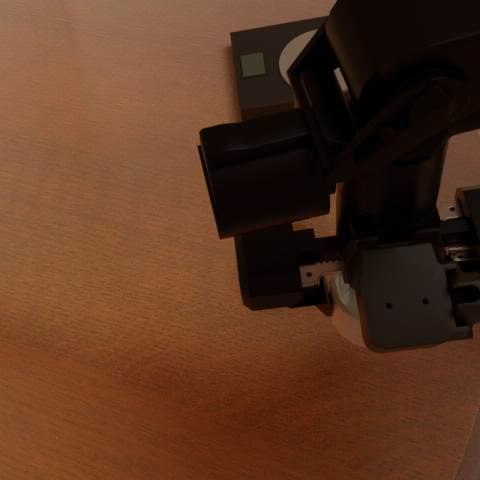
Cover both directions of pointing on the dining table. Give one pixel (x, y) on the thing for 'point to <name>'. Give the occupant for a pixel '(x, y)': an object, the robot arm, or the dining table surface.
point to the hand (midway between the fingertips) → (374, 305)
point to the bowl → (345, 310)
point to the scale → (271, 65)
